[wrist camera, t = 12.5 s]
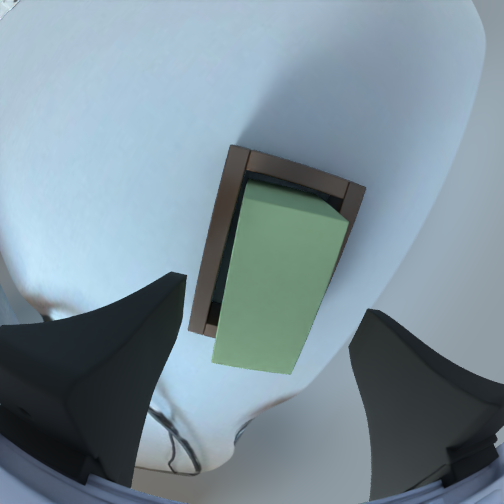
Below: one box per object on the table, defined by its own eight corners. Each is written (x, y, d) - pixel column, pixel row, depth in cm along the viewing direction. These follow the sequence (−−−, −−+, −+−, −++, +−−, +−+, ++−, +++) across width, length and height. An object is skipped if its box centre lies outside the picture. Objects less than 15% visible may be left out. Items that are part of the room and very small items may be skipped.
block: (316, 193, 15) (349, 221, 10) (282, 310, 18) (290, 375, 13) (248, 177, 15) (243, 196, 9) (223, 299, 18) (211, 363, 12)
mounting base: (351, 181, 15) (367, 187, 12) (291, 331, 19) (295, 355, 16) (234, 144, 14) (230, 144, 12) (195, 309, 18) (187, 331, 16)
